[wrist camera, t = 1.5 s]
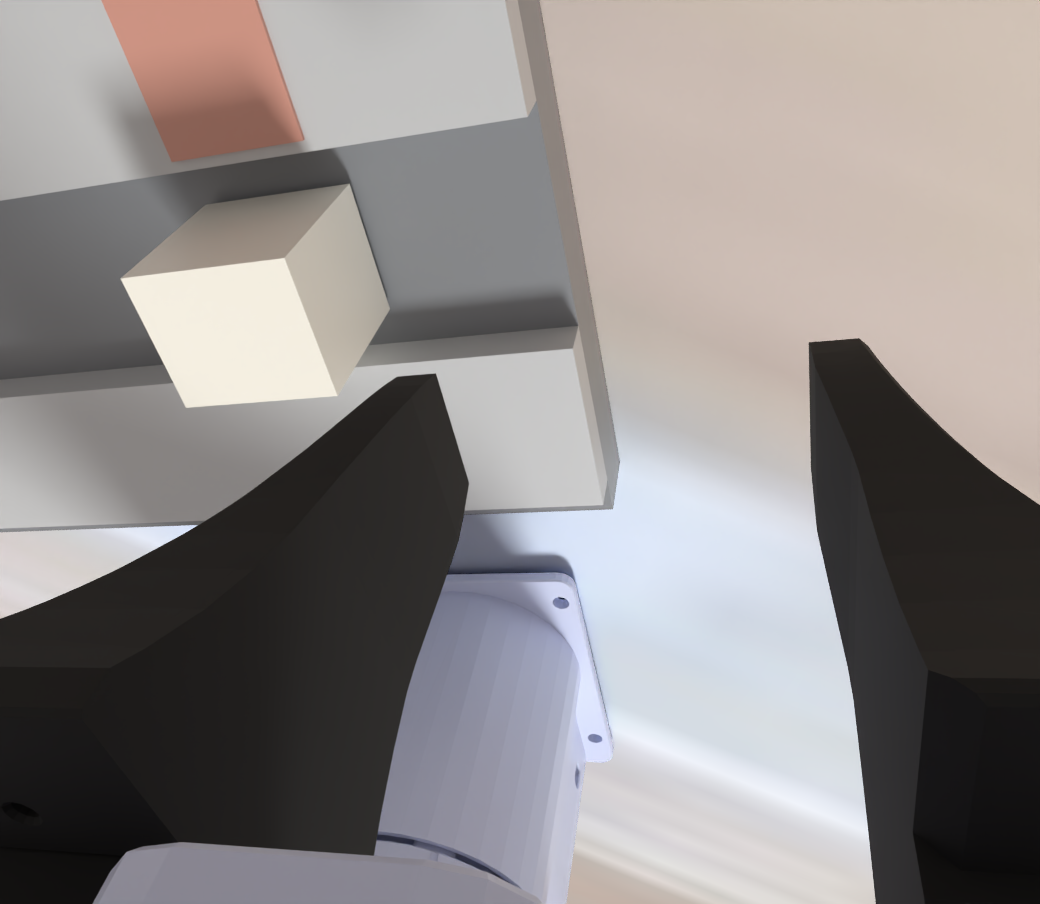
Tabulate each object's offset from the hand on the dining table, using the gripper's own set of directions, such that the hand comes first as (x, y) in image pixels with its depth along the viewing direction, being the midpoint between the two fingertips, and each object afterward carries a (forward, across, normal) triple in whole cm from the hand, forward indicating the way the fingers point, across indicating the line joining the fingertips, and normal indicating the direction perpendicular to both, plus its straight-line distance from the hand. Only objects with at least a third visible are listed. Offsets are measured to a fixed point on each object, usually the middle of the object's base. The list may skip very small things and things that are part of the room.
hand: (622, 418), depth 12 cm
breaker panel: (+9, +14, 0) cm, 17 cm away
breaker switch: (+7, +8, 0) cm, 11 cm away
